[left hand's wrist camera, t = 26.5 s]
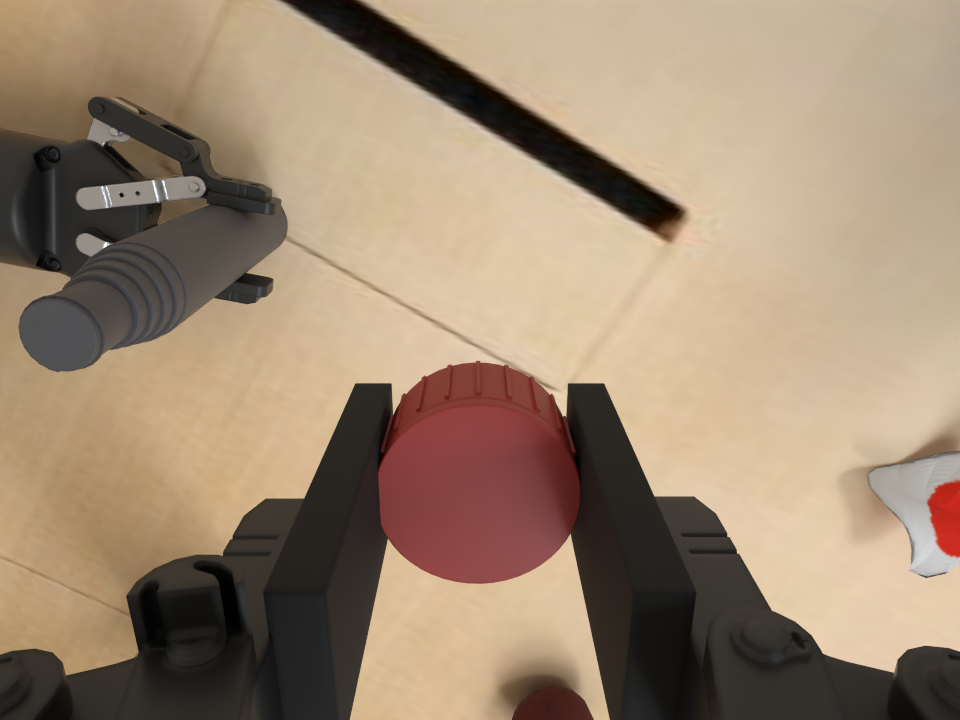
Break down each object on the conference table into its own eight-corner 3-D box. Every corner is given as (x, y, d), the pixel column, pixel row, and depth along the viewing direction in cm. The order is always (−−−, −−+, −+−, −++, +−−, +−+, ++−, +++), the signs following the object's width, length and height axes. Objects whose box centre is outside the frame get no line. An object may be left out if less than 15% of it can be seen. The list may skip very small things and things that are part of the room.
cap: (359, 388, 14) (339, 435, 12) (542, 335, 14) (553, 375, 12) (419, 541, 15) (410, 606, 13) (588, 497, 15) (606, 557, 13)
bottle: (232, 180, 45) (1, 257, 22) (295, 204, 46) (133, 301, 23) (216, 241, 47) (-16, 370, 24) (278, 262, 47) (109, 409, 24)
